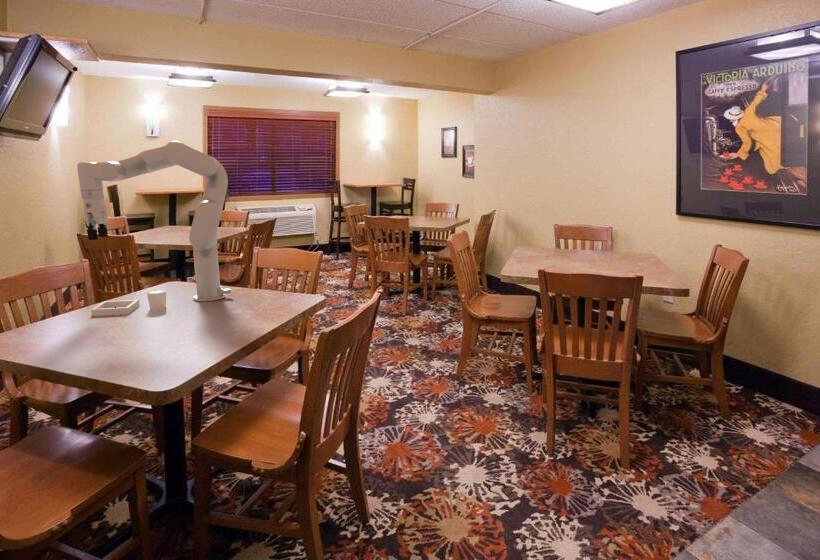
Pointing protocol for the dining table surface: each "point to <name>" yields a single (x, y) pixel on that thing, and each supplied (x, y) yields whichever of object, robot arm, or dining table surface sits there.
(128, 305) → the box
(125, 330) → the dining table surface
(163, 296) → the shot glass
